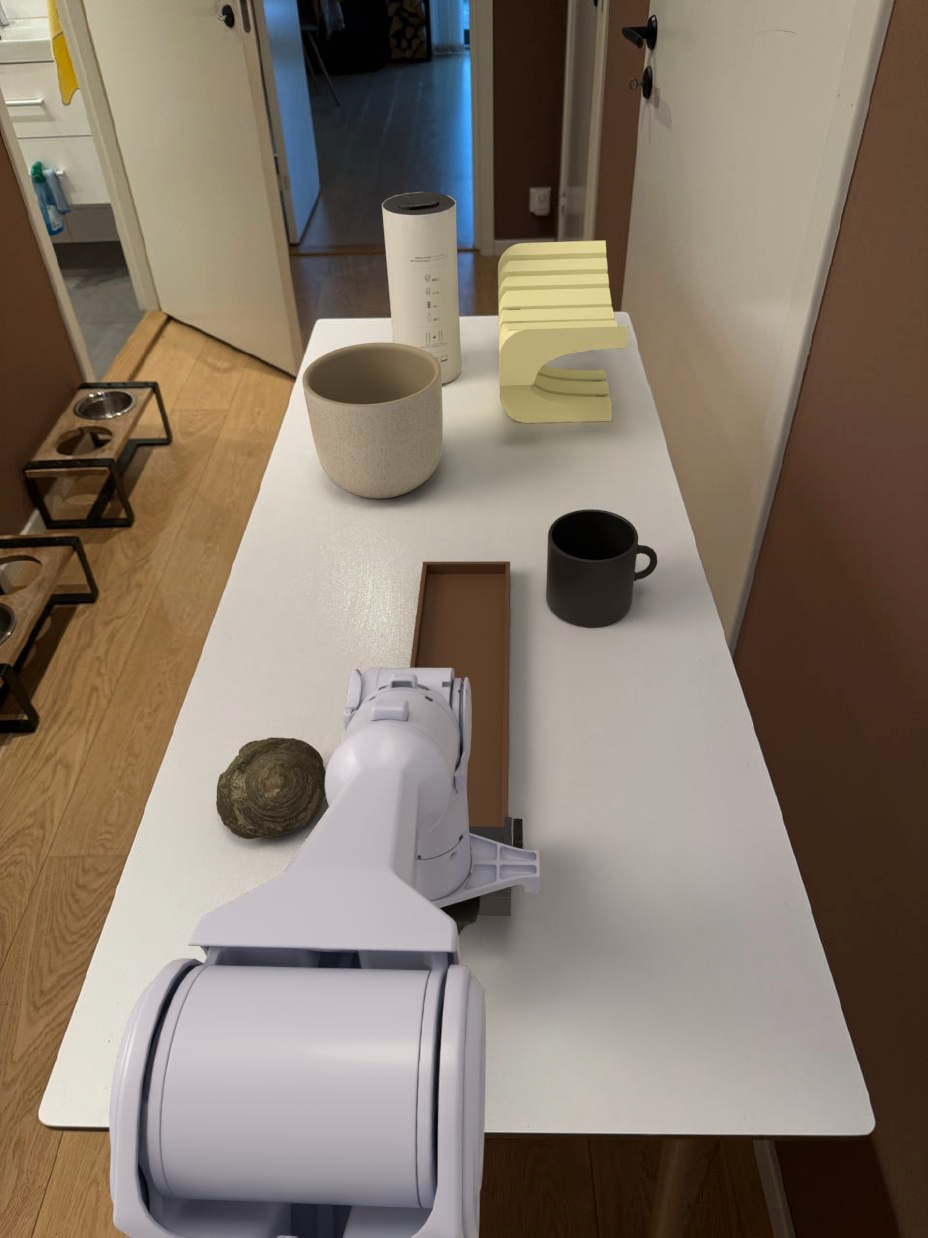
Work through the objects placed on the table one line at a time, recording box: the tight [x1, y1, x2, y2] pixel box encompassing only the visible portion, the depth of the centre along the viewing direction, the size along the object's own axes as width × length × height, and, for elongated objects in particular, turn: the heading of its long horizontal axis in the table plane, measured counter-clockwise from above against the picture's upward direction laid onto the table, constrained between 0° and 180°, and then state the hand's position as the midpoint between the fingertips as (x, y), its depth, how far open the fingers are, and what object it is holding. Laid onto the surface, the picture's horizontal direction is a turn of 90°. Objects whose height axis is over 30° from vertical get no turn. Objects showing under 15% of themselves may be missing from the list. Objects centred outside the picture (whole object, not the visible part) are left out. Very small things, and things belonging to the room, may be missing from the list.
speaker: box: [381, 191, 463, 386], centre depth 137 cm, size 11×10×26 cm
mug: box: [545, 508, 658, 628], centre depth 100 cm, size 9×12×9 cm
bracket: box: [512, 817, 524, 849], centre depth 77 cm, size 2×13×4 cm, turn 88°
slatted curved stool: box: [497, 239, 629, 424], centre depth 131 cm, size 30×16×18 cm, turn 179°
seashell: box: [215, 715, 326, 840], centre depth 80 cm, size 11×12×10 cm
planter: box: [301, 342, 444, 499], centre depth 118 cm, size 17×17×15 cm
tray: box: [409, 560, 511, 827], centre depth 92 cm, size 39×10×2 cm, turn 177°
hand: (435, 935), depth 65 cm, fingers closed
